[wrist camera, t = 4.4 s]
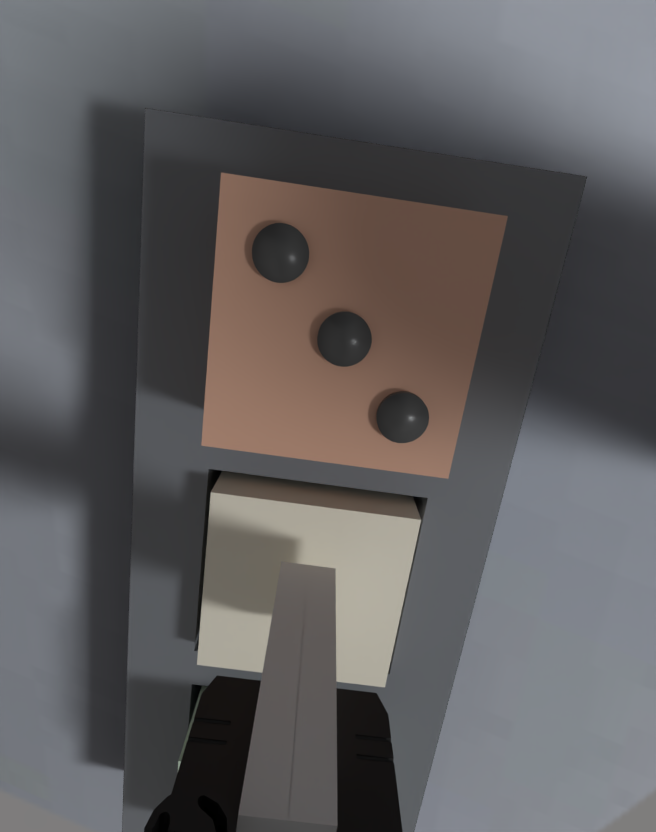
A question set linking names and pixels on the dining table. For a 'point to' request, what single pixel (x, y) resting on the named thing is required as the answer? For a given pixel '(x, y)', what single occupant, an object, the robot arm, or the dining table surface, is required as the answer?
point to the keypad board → (201, 465)
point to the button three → (344, 324)
